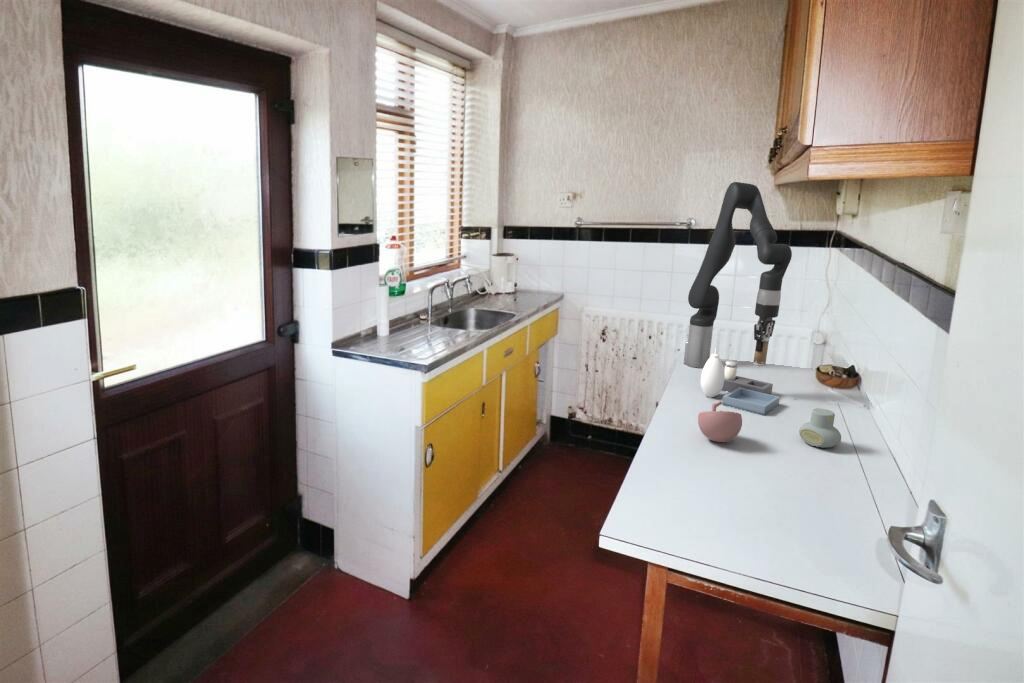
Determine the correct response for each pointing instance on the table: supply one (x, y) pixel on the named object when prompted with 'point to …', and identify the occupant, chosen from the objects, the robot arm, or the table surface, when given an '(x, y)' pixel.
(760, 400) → the parts tray
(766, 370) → the table surface
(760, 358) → the cylinder
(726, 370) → the cylinder
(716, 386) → the sauce bottle
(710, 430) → the mortar and pestle
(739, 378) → the block
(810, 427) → the air freshener
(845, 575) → the table surface
